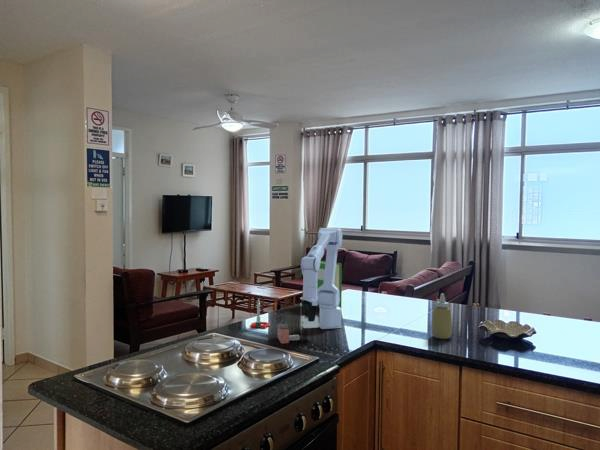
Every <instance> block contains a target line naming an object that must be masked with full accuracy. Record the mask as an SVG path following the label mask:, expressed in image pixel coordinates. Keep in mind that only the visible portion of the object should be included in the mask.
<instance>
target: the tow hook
mask: <svg viewBox="0 0 600 450" xmlns="http://www.w3.org/2000/svg"><path fill="white" fill-rule="evenodd" d="M260 299H261V298H258V299H257V304H256V305H257V308H256V311H257V312H256V321H255V322H251V323H250V328H251V329H266V328H268V327H270V326H271V323H270V322H266V321H261V303H260V302H261V300H260Z"/></svg>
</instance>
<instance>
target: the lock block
mask: <svg viewBox="0 0 600 450" xmlns="http://www.w3.org/2000/svg"><path fill="white" fill-rule="evenodd" d="M319 320H320V316H318V315H316V316H315V320H314V321H311V322H309V320H308V316H305V315H301V322H300V323H301V327H303V329H312V328H313V329H314V328H319V326H318V323H319Z"/></svg>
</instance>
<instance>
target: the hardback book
mask: <svg viewBox="0 0 600 450" xmlns="http://www.w3.org/2000/svg"><path fill="white" fill-rule="evenodd" d="M320 261H321V263H320V268H319V270H318V271H317V290H318V288H319V287H320V286H321V285H323V282H324V273H325V264H326V260H320ZM342 267H343V264H342V263H341V262H336V271H335V281H334V285H335V286H336V287H337V288H338V289H339V291H340V302H339V305H338V306H339V307H340V309H341V310H342V292H343V291H342V288H343V287H342V286H343V284H342V281H343V279H342V278H343V275H342V273H343V269H342ZM324 292H331V291H324Z"/></svg>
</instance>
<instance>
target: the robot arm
mask: <svg viewBox="0 0 600 450" xmlns="http://www.w3.org/2000/svg"><path fill="white" fill-rule="evenodd" d="M317 238H318V239H317V242H316V244H315V245H313V246H312V247H311V248H310V250H309V252H308V253H307V255H306V256H304V257H302V258H301V259H300V260H301V262H300V268H301V275H302V276H303V279H302V282H303V283H302V296H301V297H299V298H300V300H302V301H301V304H302V307H303V312H304V316H308V320H309V322H311V321H314V320H315V316H317V315H316V314H317V312H318V309H319V322H318V328H320V329H321V330H328V329H329V330H331V329H342V327H343V326H342V308H341V309H340V307H339V306H338V305H339V302H340V291H339V289H338V288H337V287H336V286H335V285H334V281H335V271H336V263H337V259H338V252H339V249H341V248H342V244H343V231H342V229H341V228H340V227H339V228H338V227H337V228H336V227H335V228H333V227H332V228H331V227H329V228H327V227H319V230H318V232H317ZM325 249H326V254H325ZM324 255H326V256H325V261H326V264H325V273H324V282H323V285H321V286H320V287H319V288H318V290H317V271H318V270H319V268H320V263H321V261H322V258H323V257H324ZM324 291H331V292H324Z"/></svg>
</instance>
